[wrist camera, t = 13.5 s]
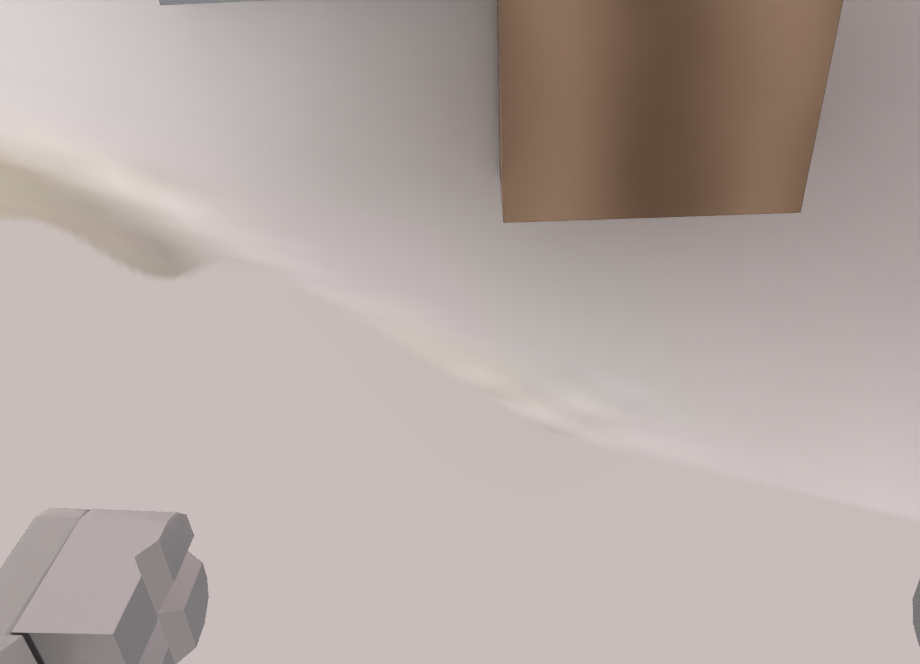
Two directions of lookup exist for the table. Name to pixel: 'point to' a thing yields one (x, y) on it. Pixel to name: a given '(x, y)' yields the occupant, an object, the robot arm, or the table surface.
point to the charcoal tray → (197, 1)
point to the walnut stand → (659, 106)
